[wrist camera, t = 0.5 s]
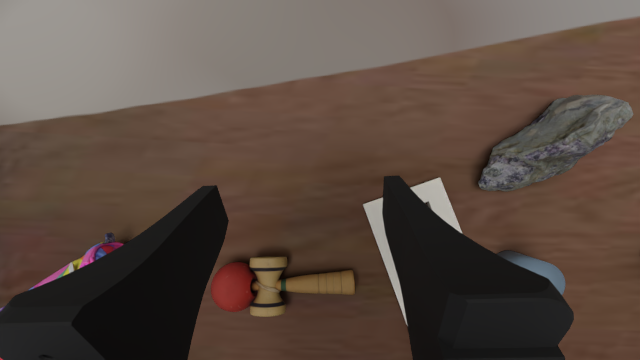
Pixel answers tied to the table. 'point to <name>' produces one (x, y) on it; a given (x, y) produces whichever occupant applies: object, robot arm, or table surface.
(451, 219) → the pin board
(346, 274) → the kendama
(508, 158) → the mineral rock
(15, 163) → the table surface
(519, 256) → the loose pin
